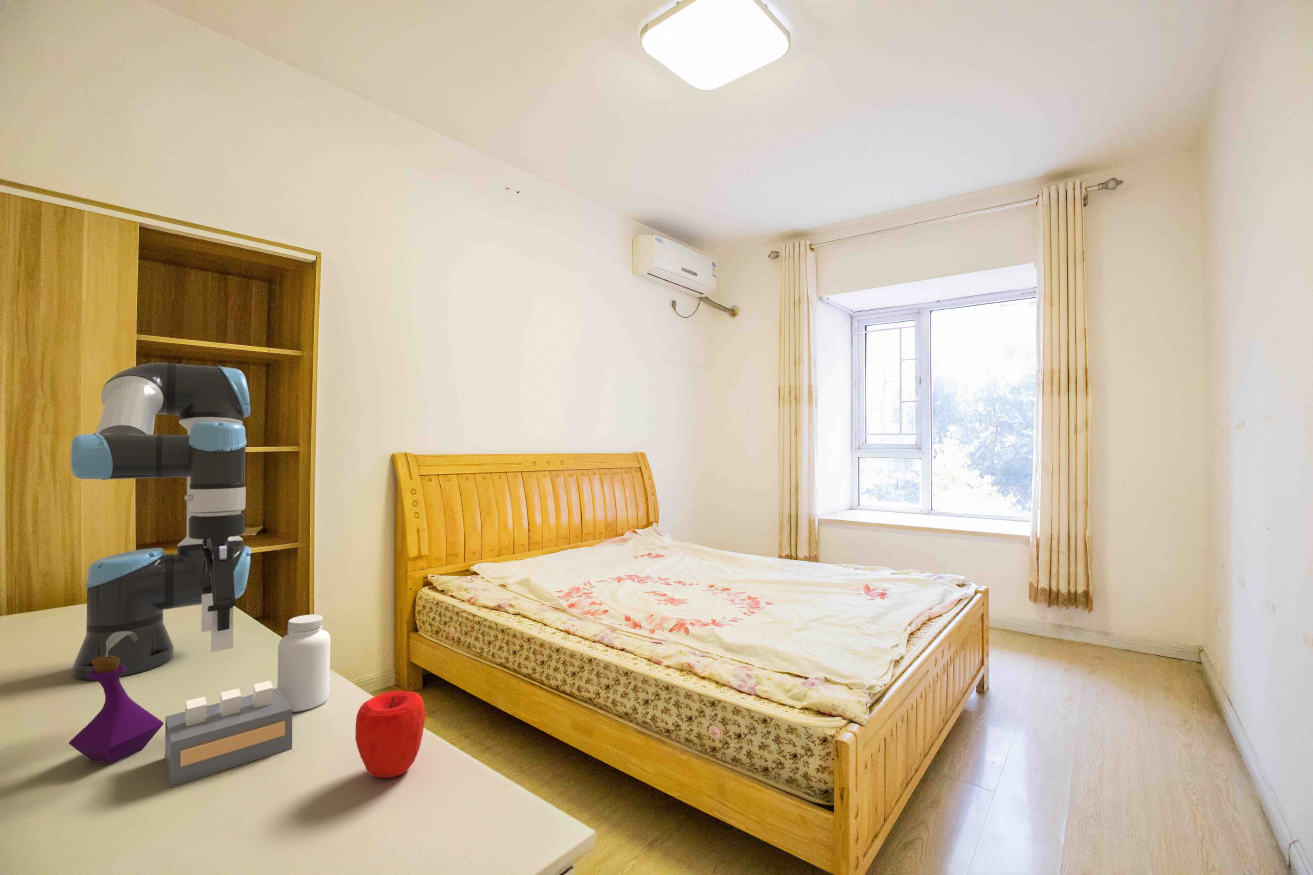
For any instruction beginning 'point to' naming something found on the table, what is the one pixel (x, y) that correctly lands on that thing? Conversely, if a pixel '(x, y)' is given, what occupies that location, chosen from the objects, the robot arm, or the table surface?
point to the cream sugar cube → (262, 694)
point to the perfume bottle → (115, 714)
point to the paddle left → (195, 711)
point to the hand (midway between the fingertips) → (216, 639)
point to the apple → (390, 732)
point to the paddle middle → (230, 702)
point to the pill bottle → (304, 663)
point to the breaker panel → (226, 738)
